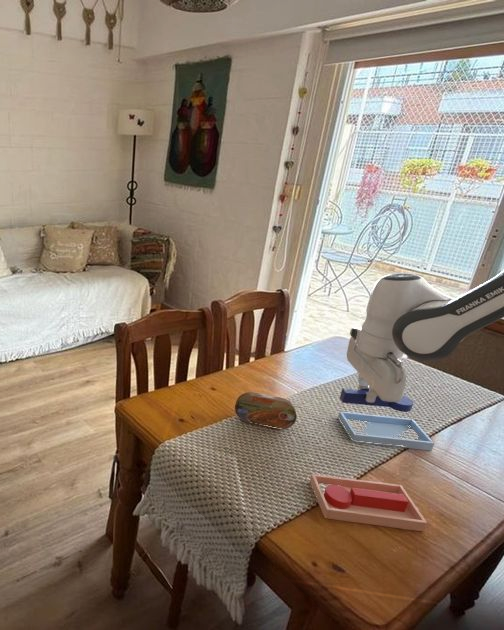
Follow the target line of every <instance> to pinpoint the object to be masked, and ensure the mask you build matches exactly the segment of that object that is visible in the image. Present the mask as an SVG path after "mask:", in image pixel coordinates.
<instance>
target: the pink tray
mask: <svg viewBox="0 0 504 630" xmlns="http://www.w3.org/2000/svg"><path fill="white" fill-rule="evenodd" d="M310 482H311V483H310ZM318 483H324V484H332V485H339V486H341V487H343V488H345V489H347V490H348V491H349V492H350V491H351V488H356V489H364V490H372V491H380V492H387V493H395V494H403V495H404V496H405V497H406V499H407V500H408V504H407V507H406V509H405V512H399V511H392V510H384V509H377V508H370V507H362V506H355V505H352V504H351V506H350V507H349V508H347V509H340V508H336V507H334V506H332V505H330V504H329V503H328V502H327V501H326V500H325V497H324V495H323V493H322V491H321V488H320V486H319V484H318ZM311 484H312V485H311ZM309 485H310V487H311V490H312V491H313V494H314V497H315V499H316V501H317V503H318V506H319V509H320V510H321V513H322V515H323V517H324V519H328V520H335V521H342V522H343V521H344V522H351V523H357V524H365V525H371V526H379V527H388V528H393V529H402V530H408V531H417V532H425V530H426V528H427V525H428V522H427V520H426V519H425V517H424V516H423V514H422V513H421V511H420V510H419V508H418V507H417V506H416V504H415V503H414V501H413V500H412V498H411V497H410V495H409V494H408V493H407V491H406V490H405V488H404V487H403V485H402V484H396V483H390V482H389V483H387V482H381V481H372V480H365V479H356V478H348V477H341V476H340V477H339V476H332V475H323V474H315V473H311V475H310V479H309ZM312 486H313V488H312ZM313 489H314V490H313ZM314 491H315V493H316V495H315V493H314ZM316 496H317V497H316ZM317 498H318V500H317Z"/></svg>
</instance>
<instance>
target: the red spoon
mask: <svg viewBox="0 0 504 630" xmlns="http://www.w3.org/2000/svg"><path fill="white" fill-rule="evenodd" d="M324 497H325V500H326V501H327V502H328V503H329V504H330V505H332V506H334V507H336V508H340V509H347V508H349V507H350V506H351V504H352V505H355V506H362V507H370V508H377V509H384V510H392V511H399V512H405V509H406V507H407V504H408V500H407V499H406V497H405V496H404V495H403V494H395V493H387V492H380V491H372V490H364V489H356V488H351V491H350V492H349V491H348V490H347V489H345V488H343V487H341V486H338V485H328V486H327V487H326V489H325V493H324Z"/></svg>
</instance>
